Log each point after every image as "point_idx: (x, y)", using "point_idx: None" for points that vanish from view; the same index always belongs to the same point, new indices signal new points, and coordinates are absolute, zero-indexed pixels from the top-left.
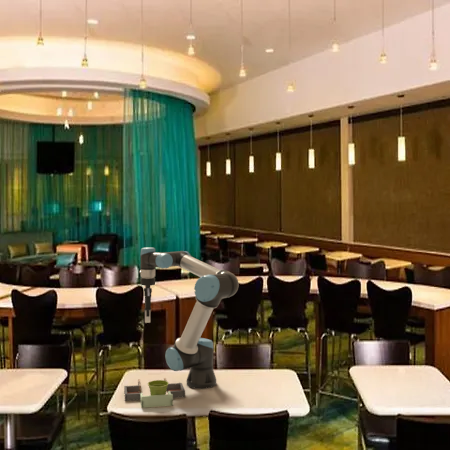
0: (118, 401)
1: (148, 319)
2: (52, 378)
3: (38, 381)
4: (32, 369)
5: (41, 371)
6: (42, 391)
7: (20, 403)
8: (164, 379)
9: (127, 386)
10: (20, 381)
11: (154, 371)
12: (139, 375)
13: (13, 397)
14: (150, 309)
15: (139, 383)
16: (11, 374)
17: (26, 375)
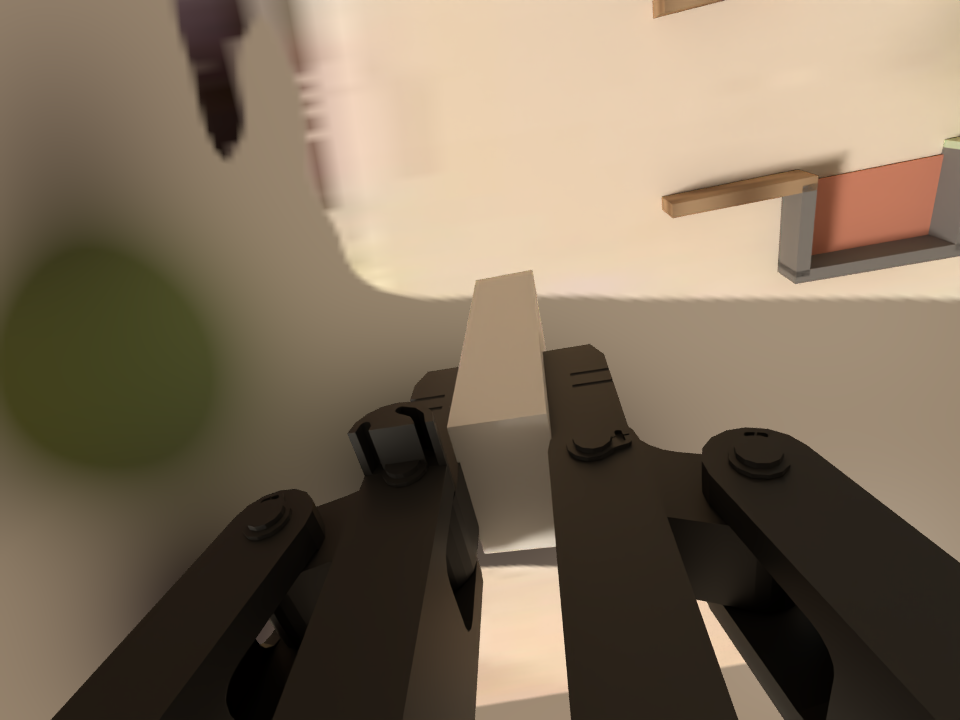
0: (932, 278)
1: (540, 330)
2: (523, 587)
3: (561, 617)
4: None
5: None
6: None
7: None
8: (701, 1)
9: (809, 263)
10: (558, 660)
11: (365, 137)
12: (461, 229)
13: None
14: (779, 433)
15: (762, 194)
16: (477, 692)
17: (487, 658)
